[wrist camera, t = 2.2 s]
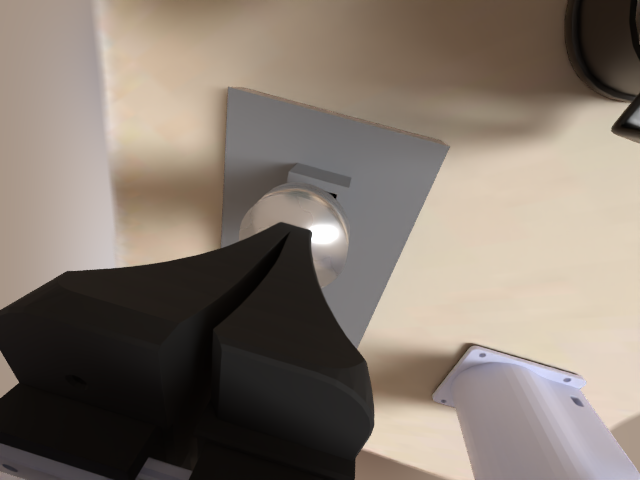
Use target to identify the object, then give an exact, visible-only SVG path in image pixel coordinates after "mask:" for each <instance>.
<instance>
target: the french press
mask: <svg viewBox="0 0 640 480" xmlns="http://www.w3.org/2000/svg"><path fill="white" fill-rule="evenodd" d="M636 7H637V0H568V5H567V11H566V16H565V43H566V47H567V51H568V55H569V60H570V62H571V64H572V66H573V67H574V69H575V71H576V73H577V75H578V77H579V78H581V79H582V80H583V81H584V82H585V83H586V84H587V85H588V86H589V87H590V88H591V89H592V90H594V91H596V92H598V93H600V94H602V95H603V96H605V97H607V98H612V99H616V100H620V101H624V102H632V103H631V104H630V105H629V106H628V107H627V109H626V110H625V111H624V112H623V113H622V115H621V116H620V117H619V118H618V120H617V121H616V122H615V123H614V125H613V126H612V130H611V132H613V133H614V134H616V135H618V136H621V137H624V138H626V139H629V140H632V141H634V142H637V143H640V44H639V39H638V33H637V26H636Z"/></svg>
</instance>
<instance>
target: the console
mask: <svg viewBox="0 0 640 480" xmlns="http://www.w3.org/2000/svg"><path fill="white" fill-rule="evenodd" d="M449 148H450V146H448V145H447V144H445V143H444V142H442V141H440V140H436V139H432V138H429V137H425V136H421V135H418V134H414V133H410V132H406V131H403V130H399V129H395V128H392V127H388V126H384V125H380V124H377V123H373V122H369V121H365V120H362V119H358V118H354V117H351V116H347V115H343V114H339V113H336V112H332V111H328V110H325V109H321V108H317V107H313V106H310V105H306V104H302V103H298V102H295V101H291V100H287V99H284V98H280V97H276V96H272V95H269V94H265V93H261V92H257V91H254V90H250V89H246V88H239V87H228V103H227V125H226V147H225V169H224V191H223V213H222V235H221V248H223V247H226V246H229V245H231V244H234V243H236V242H238V241H239V230H240V226H241V222H242V220H243V218H244V216H245V215H246V213H247V212H248V211H249V210H250V209H251V208H252V207H253V206H254V205H255V204H256V203H257V202H258V201H259V200H260V199H261V198H262V197H263V196H264V195H265V194H266V193H267V192H269V191H270V190H272V189H273V188H275V187H277V186H280V185H282V184H287V183H295V182H298V183H307V184H311V185H314V186H317V187H319V188H321V189H323V190H325V191H326V192H330V193H333V194H337V197H336V200H337V201H338V202H339V203H340V205H341V206H342V208H343V209H344V211H345V213H346V215H347V218H348V221H349V226H350V236H349V244H348V251H347V258H346V262H345V265H344V267H343V269H342V271H341V272H340V274H339V275H338V276H337V278H336V279H335V280H333V281H332V282H331V283H330V284H328V285H327V286H325V287H322V288H321V290H322V292H323V294H324V297H325V299H326V301H327V303H328V305H329V307H330V309H331V311H332V313H333V315H334V316H335V318H336V320H337V322H338V324H339V325H340V327H341V328H342V330H343V331H344V333H345V335H346V336H347V337H348V339H349V340H350V341H351V342H352V344H353V345H354V346H355V348H356V349H357V348H358V346H359V344H360V341H361V339H362V337H363V335H364V333H365V330H366V328H367V326H368V324H369V322H370V320H371V317H372V315H373V313H374V311H375V309H376V307H377V304H378V302H379V300H380V298H381V296H382V293H383V291H384V289H385V287H386V285H387V283H388V280H389V278H390V276H391V274H392V272H393V270H394V267H395V265H396V263H397V261H398V259H399V256H400V254H401V252H402V250H403V248H404V246H405V243H406V241H407V239H408V237H409V235H410V232H411V230H412V228H413V226H414V224H415V222H416V219H417V217H418V215H419V213H420V211H421V209H422V206H423V204H424V202H425V200H426V198H427V195H428V193H429V191H430V189H431V187H432V185H433V182H434V180H435V178H436V176H437V174H438V172H439V169H440V167H441V165H442V163H443V161H444V158H445V156H446V154H447V152H448V150H449Z"/></svg>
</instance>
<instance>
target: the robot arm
mask: <svg viewBox="0 0 640 480" xmlns="http://www.w3.org/2000/svg"><path fill="white" fill-rule="evenodd" d="M312 235H313V233H312V231H311V230H308V229H305V228H301V227H298V226H294V225H291V224H287V223H284V222H279V223H277V224H275V225H273V226H271V227H269V228H267V229H265V230H263V231H261V232H259V233H257V234H255V235H253V236H251V237H248V238H246V239H243V240H241V241H238V242H236V243H234V244H231V245H229V246H226V247H223V248H220V249H217V250H214V251H210V252H207V253H203V254H200V255H196V256H191V257H186V258H182V259H177V260H172V261H168V262H162V263H155V264H149V265H141V266H133V267H124V268H113V269H97V270H83V271H67V272H65V273H63V274H61V275H60V276H58V277H56V278H54V279H53V280H51V281H49V282H48V283H46V284H44V285H42V286H41V287H39V288H37V289H36V290H34V291H32V292H30V293H29V294H27V295H25V296H24V297H22V298H20V299H18V300H17V301H15V302H14V303H12V304H10V305H8V306H7V307H5V308H3V309H1V310H0V351H1V352H2V354H3V356H4V357H5V359H6V361H7V363H8V364H9V366H10V367H11V369H12V371H13V373H14V374H15V376H16V378H17V379H18V381H19V383H18V384H17V385H16V386H15V387H14V388H12V389H11V390H10V391H9V392H8V393H6V394H5V395H4V396H3V397H2V398H0V480H354V479H355V458H356V456H357V455H358V453H359V452H360V450H361V449H362V447H363V446H364V444H365V443H366V441H367V440H368V438H369V437H370V436H371V433H372V430H373V428H374V403H373V395H372V388H371V382H370V377H369V372H368V367H367V363H366V361H365V359H364V358H363V357H362V355H361V354H360V353H359V351H358V350H357V349H356V348H355V346H354V345H353V344H352V342H351V341H350V340H349V339H348V337H347V336H346V335H345V333H344V331H343V330H342V328H341V327H340V325H339V324H338V322H337V320H336V318H335V316H334V315H333V313H332V311H331V309H330V307H329V305H328V303H327V301H326V299H325V297H324V294H323V292H322V290H321V287H320V284H319V281H318V278H317V275H316V271H315V267H314V262H313V256H312V249H311V239H312ZM585 385H586V381H585V379H584V378H583V377H581V376H578V375H575V374H572V373H568V372H565V371H561V370H558V369H555V368H551V367H548V366H544V365H541V364H537V363H534V362H531V361H527V360H524V359H520V358H517V357H514V356H510V355H507V354H503V353H500V352H496V351H493V350H490V349H486V348H483V347H479V346H472V347H470V348H469V349H468V350H467V352H466V353H465V354H464V355H463V357H462V358H461V359H460V360H459V362H458V363H457V364H456V366H455V367H454V368H453V369H452V371H451V372H450V373H449V374H448V376H447V377H446V378H445V380H444V381H443V382H442V383H441V385H440V386H439V387H438V388H437V390H436V391H435V392H434V393H433V395H432V397H433V400H434V401H435V402H437V403H441V404H444V405H447V406H451V407H454V408H455V409H456V412H457V416H458V420H459V423H460V427H461V431H462V434H463V438H464V442H465V445H466V449H467V453H468V456H469V460H470V464H471V467H472V471H473V475H474V478H475V480H640V474H639V472H638V471H637V469H636V467H635V466H634V465H633V463H632V462H631V460H630V459H629V457H628V456H627V455H626V453H625V452H624V450H623V449H622V448H621V446H620V445H619V443H618V442H617V441H616V440H615V438H614V436H613V435H612V434H611V432H610V431H609V429H608V428H607V427H606V425H605V424H604V422H603V421H602V420H601V418H600V417H599V415H598V414H597V413H596V411H595V410H594V408H593V407H592V406H591V404H590V403H589V401H588V400H587V399H586V397H585V396H584V394H583V393H582V392H581V390H580V389H581V388H582V387H584V386H585ZM6 473H7V474H6ZM9 474H10V475H9ZM12 475H13V476H12ZM15 476H16V477H15ZM18 477H19V478H18ZM21 478H22V479H21Z"/></svg>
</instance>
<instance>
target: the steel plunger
mask: <svg viewBox="0 0 640 480" xmlns="http://www.w3.org/2000/svg"><path fill="white" fill-rule="evenodd" d="M279 222H284V223H287V224H291V225H294V226H298V227H301V228H305V229H308V230H311V231H312V233H313V235H312V239H311V249H312V256H313V262H314V267H315V271H316V275H317V278H318V281H319V284H320V287H321V288H322V287H325V286H327V285H328V284H330V283H331V282H332V281H333V280H335V279H336V278H337V276H338V275H339V274H340V272H341V271H342V269H343V267H344V265H345V262H346V258H347V251H348V244H349V236H350V226H349V221H348V218H347V215H346V213H345V211H344V209H343V208H342V206H341V205H340V203H339V202H338V201H337V200H336V199H335V198H334V197H333V196H332V193H330V192H326V191H325V190H323V189H321V188H319V187H317V186H314V185H311V184H307V183H298V182H295V183H287V184H282V185H280V186H277V187H275V188H273V189H272V190H270V191H269V192H267V193H266V194H265V195H264V196H263V197H262V198H261V199H260V200H259V201H258V202H257V203H256V204H255V205H254V206H253V207H252V208H251V209H250V210H249V211H248V212H247V213H246V215H245V216H244V218H243V220H242V222H241V226H240V230H239V241H241V240H243V239H246V238H248V237H251V236H253V235H255V234H257V233H259V232H261V231H263V230H265V229H267V228H269V227H271V226H273V225H275V224H277V223H279Z"/></svg>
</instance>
